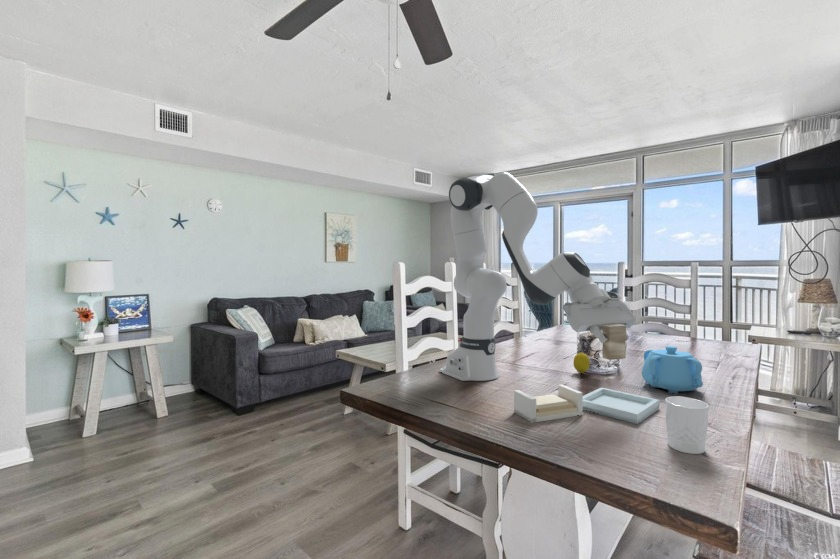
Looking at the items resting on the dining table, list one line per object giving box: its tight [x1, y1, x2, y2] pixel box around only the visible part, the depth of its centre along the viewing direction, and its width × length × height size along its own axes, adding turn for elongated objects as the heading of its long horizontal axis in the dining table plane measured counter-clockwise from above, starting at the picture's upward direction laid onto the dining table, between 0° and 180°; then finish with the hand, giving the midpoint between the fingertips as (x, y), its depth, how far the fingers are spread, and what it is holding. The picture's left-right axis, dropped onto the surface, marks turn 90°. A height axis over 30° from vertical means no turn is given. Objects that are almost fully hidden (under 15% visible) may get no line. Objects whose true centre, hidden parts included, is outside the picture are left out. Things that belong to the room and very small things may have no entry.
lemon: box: [573, 351, 590, 374], centre depth 148 cm, size 6×6×8 cm
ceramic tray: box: [582, 386, 660, 425], centre depth 112 cm, size 16×16×2 cm
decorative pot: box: [641, 345, 704, 394], centre depth 130 cm, size 16×16×14 cm
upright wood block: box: [602, 324, 627, 361], centre depth 109 cm, size 2×6×9 cm, turn 109°
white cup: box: [664, 395, 710, 455], centre depth 87 cm, size 8×8×10 cm
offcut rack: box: [513, 384, 584, 424], centre depth 108 cm, size 8×16×6 cm, turn 109°
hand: (615, 340), depth 109 cm, fingers closed on upright wood block, 5 cm apart
